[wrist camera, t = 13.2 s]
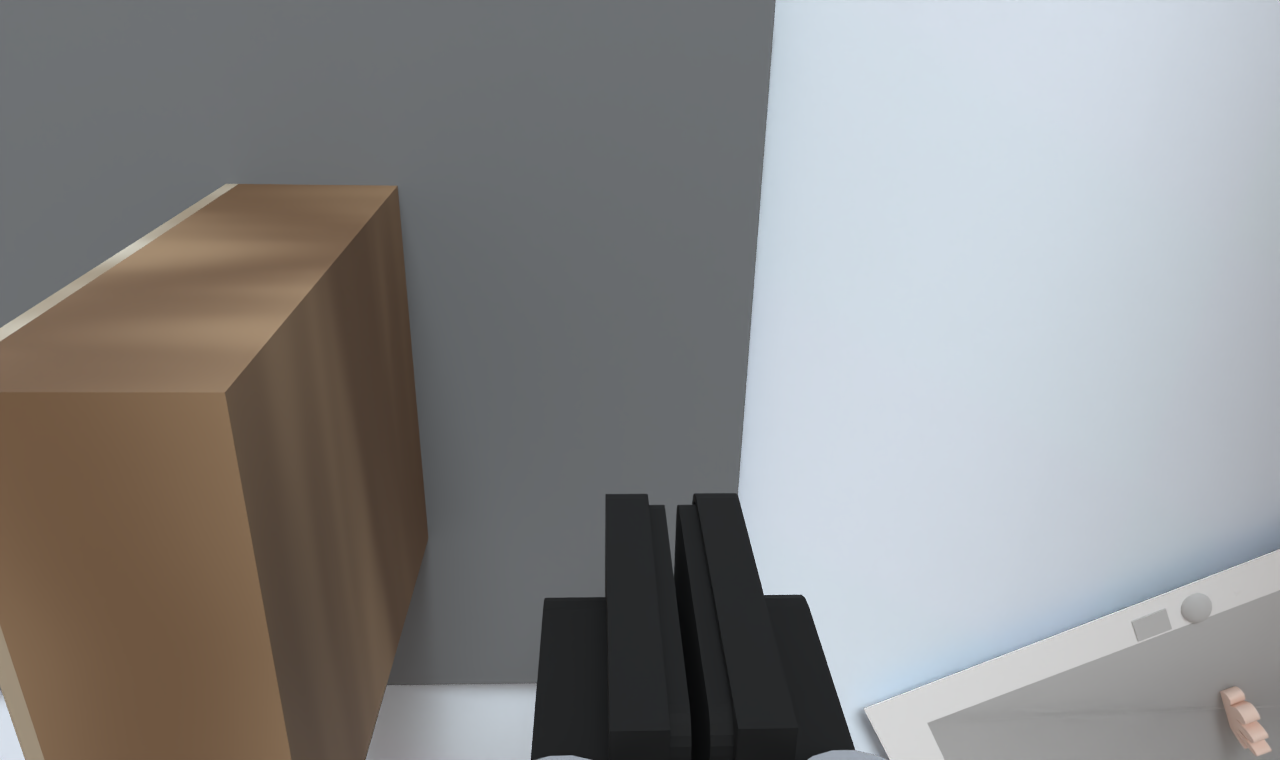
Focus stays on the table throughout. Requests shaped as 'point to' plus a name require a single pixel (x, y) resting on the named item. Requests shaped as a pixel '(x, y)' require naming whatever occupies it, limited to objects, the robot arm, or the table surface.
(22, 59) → the mat
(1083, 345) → the table surface
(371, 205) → the brown wooden block
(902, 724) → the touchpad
